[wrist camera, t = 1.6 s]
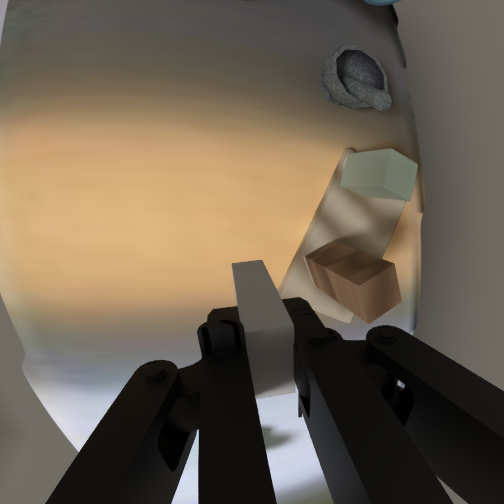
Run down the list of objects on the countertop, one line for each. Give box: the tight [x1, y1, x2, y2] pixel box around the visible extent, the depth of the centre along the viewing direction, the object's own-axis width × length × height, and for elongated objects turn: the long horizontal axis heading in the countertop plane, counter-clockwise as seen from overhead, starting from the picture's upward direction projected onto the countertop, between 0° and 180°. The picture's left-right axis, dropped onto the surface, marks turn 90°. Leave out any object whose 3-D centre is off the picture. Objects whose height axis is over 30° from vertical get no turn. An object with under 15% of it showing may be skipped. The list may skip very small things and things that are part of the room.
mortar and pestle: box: [320, 45, 392, 111], centre depth 34 cm, size 11×9×12 cm
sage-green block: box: [340, 148, 418, 201], centre depth 36 cm, size 5×5×10 cm
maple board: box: [277, 148, 406, 323], centre depth 44 cm, size 24×14×2 cm, turn 153°
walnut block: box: [304, 241, 401, 324], centre depth 36 cm, size 5×5×14 cm
